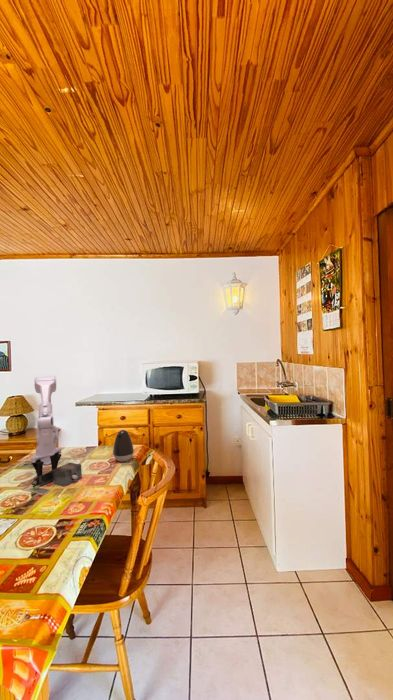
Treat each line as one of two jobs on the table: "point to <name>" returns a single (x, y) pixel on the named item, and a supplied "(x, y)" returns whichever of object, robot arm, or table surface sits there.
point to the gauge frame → (60, 477)
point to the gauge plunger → (49, 478)
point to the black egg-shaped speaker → (123, 446)
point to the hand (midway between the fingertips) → (47, 473)
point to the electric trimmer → (35, 481)
